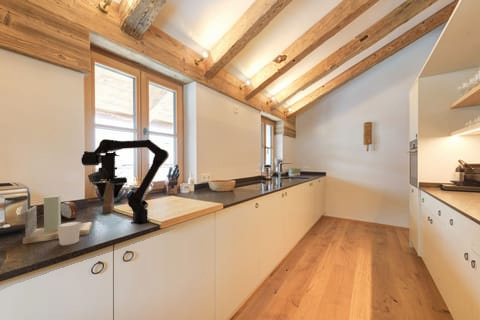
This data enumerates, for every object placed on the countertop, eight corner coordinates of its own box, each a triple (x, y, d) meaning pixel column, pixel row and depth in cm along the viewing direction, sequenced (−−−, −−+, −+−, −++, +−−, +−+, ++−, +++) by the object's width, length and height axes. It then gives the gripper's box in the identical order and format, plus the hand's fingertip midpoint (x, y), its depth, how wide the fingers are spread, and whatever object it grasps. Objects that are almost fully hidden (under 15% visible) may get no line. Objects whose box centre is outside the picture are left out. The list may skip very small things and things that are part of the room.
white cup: (54, 247, 75) (54, 227, 75) (61, 240, 81) (61, 222, 81) (77, 244, 78) (77, 225, 78) (83, 237, 84) (82, 220, 84)
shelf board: (91, 226, 98) (91, 200, 98) (88, 234, 88) (88, 205, 88) (33, 233, 88) (33, 205, 88) (22, 244, 78) (22, 212, 78)
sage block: (60, 227, 90) (60, 195, 90) (58, 230, 87) (58, 196, 87) (47, 229, 88) (46, 196, 88) (44, 232, 85) (43, 197, 84)
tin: (78, 218, 110) (77, 203, 110) (70, 220, 107) (70, 204, 107) (66, 214, 118) (66, 200, 118) (59, 216, 115) (59, 201, 115)
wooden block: (111, 213, 121) (111, 182, 121) (102, 214, 119) (102, 182, 119) (113, 209, 129) (113, 180, 129) (105, 210, 128) (105, 181, 127)
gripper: (77, 165, 97) (78, 199, 97) (105, 166, 90) (105, 202, 90) (101, 165, 107) (101, 195, 108) (127, 165, 101) (127, 197, 101)
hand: (108, 197), depth 101 cm, fingers open, 9 cm apart
